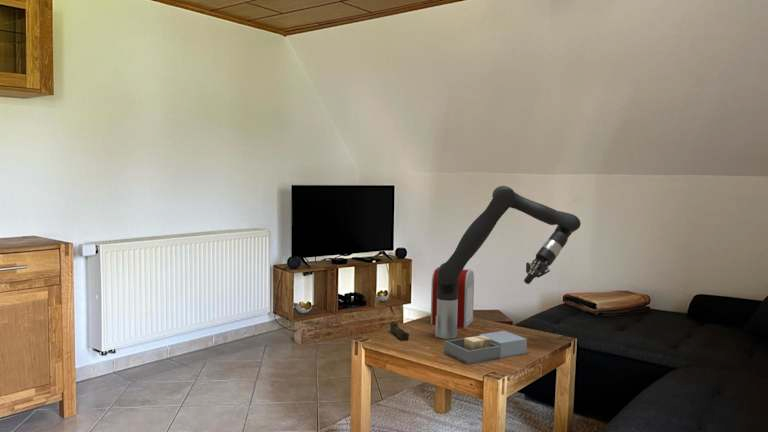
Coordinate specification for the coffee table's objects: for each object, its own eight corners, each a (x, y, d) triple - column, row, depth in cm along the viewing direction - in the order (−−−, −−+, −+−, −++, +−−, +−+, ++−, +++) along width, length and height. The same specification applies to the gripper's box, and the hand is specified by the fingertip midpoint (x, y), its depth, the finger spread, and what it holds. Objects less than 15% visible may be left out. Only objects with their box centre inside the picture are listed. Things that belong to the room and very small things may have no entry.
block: (481, 335, 248) (464, 338, 243) (491, 339, 242) (473, 341, 238) (481, 349, 248) (463, 352, 244) (490, 353, 243) (473, 356, 239)
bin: (475, 348, 254) (476, 336, 253) (500, 358, 240) (500, 346, 239) (444, 353, 246) (444, 341, 246) (467, 364, 232) (468, 351, 232)
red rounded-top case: (439, 316, 307) (440, 264, 305) (473, 320, 301) (475, 267, 299) (430, 324, 292) (431, 269, 290) (465, 328, 286) (467, 272, 284)
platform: (504, 344, 260) (504, 330, 259) (526, 353, 248) (526, 338, 247) (478, 348, 253) (478, 334, 253) (499, 357, 241) (500, 343, 240)
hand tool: (409, 341, 263) (409, 330, 263) (400, 341, 262) (400, 331, 262) (396, 330, 281) (397, 320, 281) (388, 330, 280) (388, 320, 280)
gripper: (533, 244, 263) (511, 274, 258) (555, 248, 252) (532, 279, 247) (542, 256, 266) (520, 285, 261) (564, 260, 255) (541, 291, 250)
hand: (526, 282), depth 254 cm, fingers closed
